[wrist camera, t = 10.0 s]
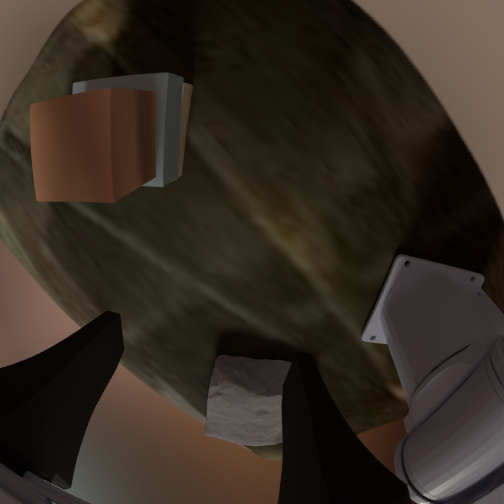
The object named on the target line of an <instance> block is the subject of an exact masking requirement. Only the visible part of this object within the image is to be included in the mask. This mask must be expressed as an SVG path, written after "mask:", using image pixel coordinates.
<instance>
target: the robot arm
mask: <svg viewBox="0 0 504 504" xmlns="http://www.w3.org/2000/svg"><path fill="white" fill-rule="evenodd" d="M406 261H409V262H408V264H406V265H404V263H405V262H406ZM472 277H473V278H472ZM471 278H472V279H471ZM483 282H484V276H483V275H482V274H480V273H476V272H472V271H468V270H464V269H460V268H456V267H452V266H448V265H444V264H440V263H436V262H432V261H428V260H424V259H420V258H416V257H412V256H408V255H404V254H400V255H398V256H396V258H395V259H394V262H393V264H392V267H391V269H390V272H389V274H388V277H387V279H386V281H385V284H384V286H383V288H382V291H381V293H380V295H379V298H378V300H377V302H376V304H375V307H374V309H373V311H372V313H371V315H370V317H369V319H368V322H367V324H366V326H365V328H364V330H363V332H362V334H361V337H362V340H363V341H366V342H374V343H383V344H388V347H389V349H390V352H391V355H392V358H393V360H394V363H395V366H396V369H397V372H398V375H399V378H400V381H401V384H402V387H403V390H404V393H405V396H406V399H407V403H408V406H409V413H408V415H407V416H406V417H405V418H404V423H405V427H406V431H407V434H406V435H405V436H404V437H403V438H402V439H401V441H400V442H399V444H398V446H397V448H396V452H395V459H394V464H395V471H396V476H395V475H394V474H393V473H392V472H390V471H389V470H388V469H387V468H386V467H385V466H384V465H383V464H381V463H380V462H379V461H378V460H377V459H376V458H375V457H374V455H373V454H372V453H371V452H370V451H369V450H368V449H367V448H366V447H365V446H364V445H363V443H362V442H361V441H360V440H359V439H358V437H357V436H356V435H355V433H354V432H353V431H352V429H351V428H350V426H349V425H348V424H347V422H346V421H345V419H344V418H343V416H342V414H341V413H340V411H339V409H338V408H337V406H336V404H335V403H334V401H333V399H332V397H331V395H330V393H329V391H328V389H327V388H326V386H325V383H324V381H323V379H322V377H321V375H320V373H319V371H318V368H317V366H316V364H315V361H314V359H313V357H312V355H311V354H306V353H299V352H296V353H295V356H294V358H293V361H292V363H291V366H290V368H289V371H288V373H287V376H286V378H285V381H284V383H283V392H282V404H281V411H282V440H283V463H282V474H281V483H280V491H279V499H278V504H411V500H410V498H411V499H412V500H413V501H415V502H416V503H418V504H504V315H503V314H502V312H501V311H500V310H499V309H498V307H497V306H496V305H495V304H494V303H493V301H492V300H491V299H490V298H489V297H488V296H487V294H486V293H485V292H484V291H483V290H482V289H481V286H482V284H483ZM371 336H374V337H371ZM123 351H124V343H123V335H122V327H121V318H120V314H118V313H114V312H111V311H106V312H104V313H103V314H101V315H100V316H98V317H97V318H95V319H94V320H93V321H91V322H90V323H88V324H87V325H85V326H84V327H82V328H81V329H79V330H78V331H76V332H75V333H73V334H72V335H70V336H69V337H67V338H66V339H64V340H62V341H60V342H59V343H57V344H56V345H54V346H52V347H51V348H49V349H47V350H45V351H43V352H41V353H39V354H37V355H35V356H33V357H30V358H28V359H26V360H23V361H20V362H18V363H15V364H13V365H9V366H6V367H3V368H0V504H53V503H52V502H54V503H56V504H90V503H88V502H85V501H84V500H81V499H79V498H77V497H75V496H73V495H71V494H69V493H67V492H65V491H63V490H61V489H59V488H57V487H55V486H53V485H52V484H54V485H56V486H58V487H60V488H62V489H69V488H71V485H72V479H73V473H74V469H75V464H76V460H77V457H78V453H79V450H80V446H81V443H82V440H83V437H84V434H85V431H86V428H87V426H88V423H89V420H90V418H91V415H92V413H93V411H94V409H95V407H96V405H97V403H98V401H99V399H100V397H101V396H102V394H103V392H104V390H105V388H106V387H107V385H108V383H109V381H110V379H111V378H112V376H113V374H114V372H115V370H116V368H117V366H118V364H119V361H120V359H121V356H122V354H123ZM44 480H46V481H48V482H49V483H48V482H46V481H44ZM50 483H52V484H50Z"/></svg>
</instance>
